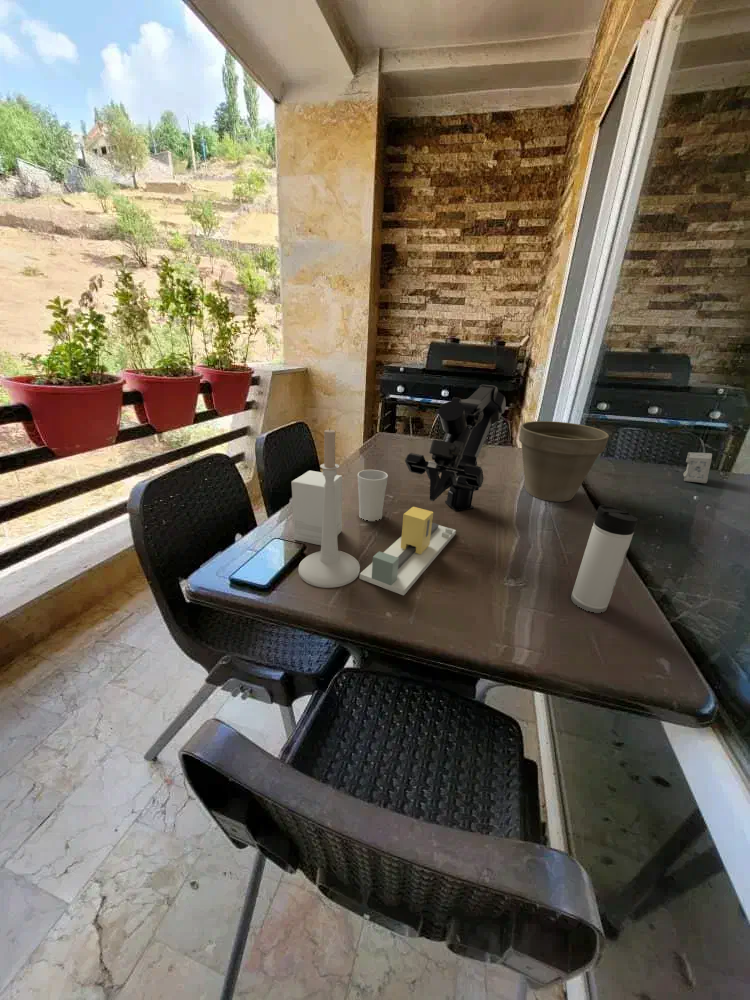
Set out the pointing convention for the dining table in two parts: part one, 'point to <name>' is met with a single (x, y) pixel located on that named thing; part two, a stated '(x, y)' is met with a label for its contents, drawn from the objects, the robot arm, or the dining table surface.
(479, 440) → the robot arm
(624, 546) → the travel mug
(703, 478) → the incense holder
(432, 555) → the white slide rail base
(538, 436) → the plant pot
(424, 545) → the yellow sliding block
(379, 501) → the cup
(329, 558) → the candlestick
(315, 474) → the supplement box
